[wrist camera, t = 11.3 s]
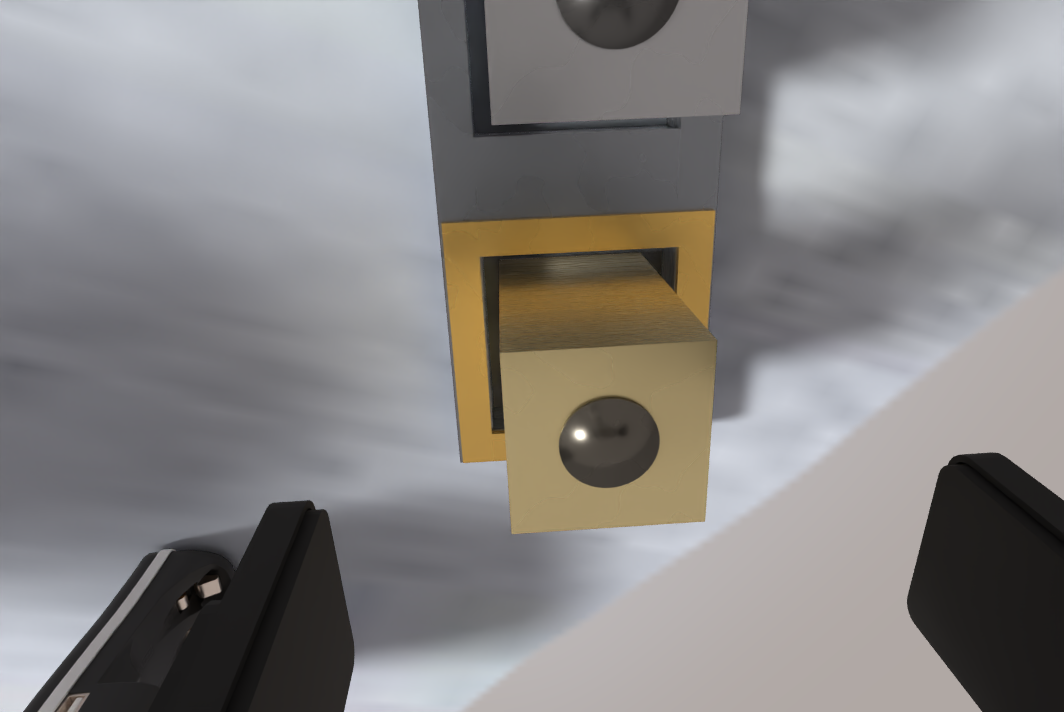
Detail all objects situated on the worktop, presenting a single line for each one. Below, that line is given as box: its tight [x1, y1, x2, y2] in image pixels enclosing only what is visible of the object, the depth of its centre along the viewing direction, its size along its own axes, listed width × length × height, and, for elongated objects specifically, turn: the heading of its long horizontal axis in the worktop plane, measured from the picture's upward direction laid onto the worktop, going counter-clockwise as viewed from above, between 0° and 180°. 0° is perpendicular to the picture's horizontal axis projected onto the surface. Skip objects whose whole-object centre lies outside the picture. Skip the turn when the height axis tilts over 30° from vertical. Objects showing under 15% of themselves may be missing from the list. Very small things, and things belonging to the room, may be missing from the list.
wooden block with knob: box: [499, 252, 717, 534], centre depth 18 cm, size 4×4×8 cm
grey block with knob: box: [484, 0, 748, 125], centre depth 15 cm, size 4×4×8 cm
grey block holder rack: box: [418, 0, 723, 463], centre depth 18 cm, size 26×8×2 cm, turn 2°
